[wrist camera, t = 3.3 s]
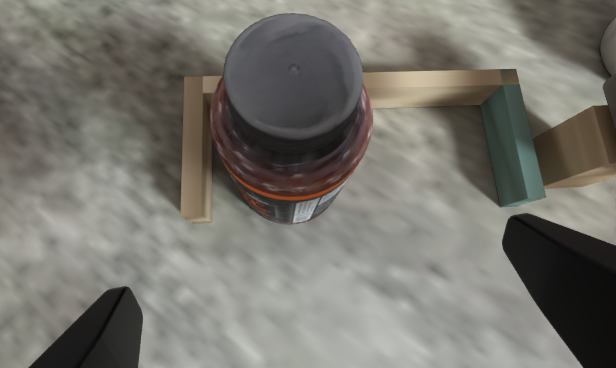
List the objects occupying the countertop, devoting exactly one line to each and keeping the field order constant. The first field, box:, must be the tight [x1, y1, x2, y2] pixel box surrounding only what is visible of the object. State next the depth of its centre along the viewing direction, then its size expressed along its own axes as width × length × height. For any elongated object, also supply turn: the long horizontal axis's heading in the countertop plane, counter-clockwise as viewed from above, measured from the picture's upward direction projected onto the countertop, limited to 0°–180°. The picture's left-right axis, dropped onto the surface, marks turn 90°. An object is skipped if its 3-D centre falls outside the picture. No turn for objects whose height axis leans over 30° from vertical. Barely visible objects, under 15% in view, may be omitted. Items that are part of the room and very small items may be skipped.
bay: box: [181, 69, 546, 223], centre depth 20 cm, size 19×8×2 cm, turn 93°
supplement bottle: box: [209, 13, 373, 224], centre depth 15 cm, size 6×6×11 cm
